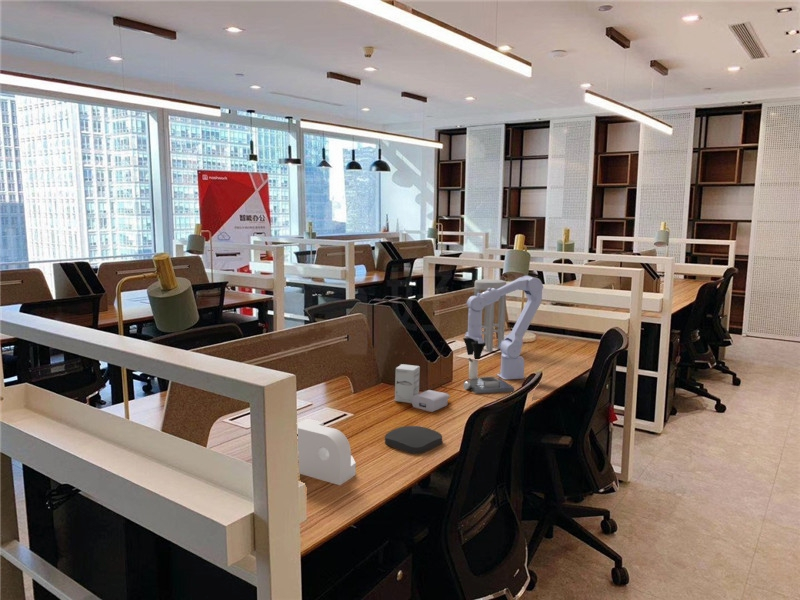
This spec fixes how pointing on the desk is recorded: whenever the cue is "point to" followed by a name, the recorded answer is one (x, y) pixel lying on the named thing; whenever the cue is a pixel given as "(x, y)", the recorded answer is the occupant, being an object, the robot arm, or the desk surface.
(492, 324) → the stool
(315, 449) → the tape dispenser
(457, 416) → the desk surface
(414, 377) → the supplement box
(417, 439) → the media streaming box
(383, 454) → the desk surface
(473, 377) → the spout can
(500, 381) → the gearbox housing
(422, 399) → the charger
